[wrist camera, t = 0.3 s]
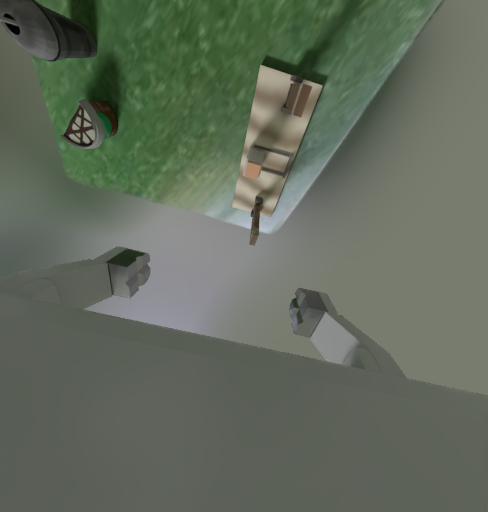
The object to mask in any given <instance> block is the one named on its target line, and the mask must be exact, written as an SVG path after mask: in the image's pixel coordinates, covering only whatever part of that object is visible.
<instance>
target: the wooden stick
mask: <svg viewBox="0 0 488 512" xmlns="http://www.w3.org/2000/svg"><path fill="white" fill-rule="evenodd" d="M260 205H261V204H258V203H255V206H254V209H253V219H252V227H251V236H250V243H249V244H250V245H255V243H256V240H257V238H258V235H259V217H260Z"/></svg>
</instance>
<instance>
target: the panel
mask: <svg viewBox="0 0 488 512" xmlns="http://www.w3.org/2000/svg"><path fill="white" fill-rule="evenodd" d="M301 83H304V84H307V85H310V86H313V87H312V89H311V92H310V95H309V98H308V100H307V103H306V106H305V109H304V111H303V114H302V117H301V118H300V117H297V116H294V115H292V114H291V112H290V111H289V110H288V108H287V107H286V106H285V102H286V99H287V95H288V92H289V89H290V85H291V84H301ZM322 87H323V86H322V85H319V84H316V83H313V82H310V81H307V80H304V78H301V77H298V76H295V75H289V74H287V73H284V72H281V71H278V70H275V69H272V68H269V67H266V66H263V65H260V70H259V75H258V80H257V85H256V90H255V95H254V100H253V105H252V110H251V115H250V120H249V125H248V130H247V135H246V140H245V145H244V150H243V155H242V160H241V165H240V170H239V175H238V180H237V185H236V190H235V195H234V200H233V205H232V207H234V208H238V209H242V210H245V211H249V212H251V217H253V209H254V206H255V203H258V204H261V205H260V214H261V215H265V216H269V217H271V216H272V214H273V211H274V208H275V206H276V203H277V201H278V198H279V196H280V193H281V191H282V188H283V186H284V183H285V181H286V178H287V175H288V173H289V170H290V168H291V165H292V163H293V160H294V158H295V155H296V153H297V150H298V148H299V145H300V142H301V140H302V137H303V135H304V132H305V130H306V127H307V125H308V122H309V120H310V117H311V115H312V112H313V109H314V107H315V104H316V102H317V99H318V97H319V94H320V92H321V89H322ZM250 147H251V148H255V149H258V150H261V151H264V161H263V166H262V170H261V173H260V177H259V180H256V179H253V178H249V177H245V176H243V172H244V168H245V163H246V158H247V155H248V152H249V148H250Z"/></svg>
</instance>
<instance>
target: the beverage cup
mask: <svg viewBox="0 0 488 512" xmlns="http://www.w3.org/2000/svg"><path fill="white" fill-rule="evenodd" d="M0 21H1V22H2V24H3V26H4V27H5V29H6V31H7V32H8V33H9V34H10V36H11V37H12V38H13V39H14V40H15V41H16V42H17V43H18V44H19V45H20V46H21V47H22V48H24V49H25V50H26V51H28V52H29V53H31V54H33V55H34V56H37V57H39V58H42V59H44V60H47V61H56V60H60V59H63V58H88V57H94V56H95V55H96V53H97V46H96V42H95V39H94V37H93V36H92V34H91V33H90V31H89V30H88V29H87V28H86V27H84V26H82V25H80V24H79V23H77V22H75V21H73V20H71V19H69V18H67V17H65V16H62V15H60V14H58V13H56V12H54V11H52V10H50V9H48V8H45V7H43V6H42V5H41V4H39V3H38V2H36V1H34V0H0Z"/></svg>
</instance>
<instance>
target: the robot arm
mask: <svg viewBox="0 0 488 512" xmlns="http://www.w3.org/2000/svg"><path fill="white" fill-rule="evenodd" d="M149 261H150V255H149V254H148V253H144V252H140V251H136V250H132V249H128V248H123V247H115V248H113V249H112V250H110V251H108V252H107V253H104V254H103V255H101V256H99V257H97V258H96V259H93V260H91V259H88V260H82V261H77V262H71V263H66V264H60V265H54V266H49V267H43V268H38V269H32V270H26V271H21V272H16V273H14V274H11V275H9V276H7V277H5V278H2V279H0V512H488V395H484V394H479V393H474V392H469V391H465V390H460V389H455V388H450V387H446V386H441V385H436V384H431V383H426V382H422V381H417V380H413V379H408V378H406V376H405V375H404V373H403V372H402V370H401V369H400V368H399V366H398V365H397V363H396V362H395V361H394V359H393V358H392V357H391V355H390V354H389V353H388V352H387V351H385V350H384V349H383V348H382V347H381V346H379V345H378V344H377V343H376V342H374V341H373V340H372V339H371V338H369V337H368V336H367V335H365V334H364V333H363V332H362V331H361V330H359V329H358V328H357V327H356V326H354V325H353V324H352V323H351V322H349V321H348V320H347V319H345V318H344V317H343V316H342V315H339V314H338V312H337V311H336V309H335V307H334V305H333V303H332V302H331V300H330V298H329V296H328V295H327V294H326V293H322V292H317V291H312V290H307V289H302V288H298V289H297V290H296V292H295V295H296V298H294V299H293V300H292V301H291V304H290V309H289V310H290V311H289V314H290V317H291V318H292V319H293V322H292V328H293V332H294V334H296V335H300V336H305V337H309V338H310V339H311V341H312V342H313V343H314V345H315V346H316V347H317V349H318V350H319V351H320V353H321V354H322V355H323V357H324V358H325V359H326V361H322V360H318V359H313V358H308V357H304V356H299V355H294V354H290V353H285V352H280V351H276V350H271V349H266V348H262V347H257V346H252V345H248V344H243V343H238V342H233V341H229V340H224V339H219V338H215V337H210V336H205V335H200V334H196V333H191V332H186V331H181V330H177V329H172V328H167V327H162V326H158V325H153V324H148V323H143V322H139V321H134V320H129V319H125V318H120V317H115V316H110V315H106V314H101V313H96V312H91V311H87V310H82V309H84V308H87V307H89V306H91V305H93V304H95V303H98V302H100V301H102V300H104V299H107V298H109V297H111V296H112V295H115V296H120V297H126V298H131V297H132V296H133V295H134V294H135V293H136V292H137V291H138V290H139V289H138V287H139V286H141V285H144V284H145V283H146V282H147V280H148V278H149V276H150V267H149V266H148V264H147V263H148V262H149Z"/></svg>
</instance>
